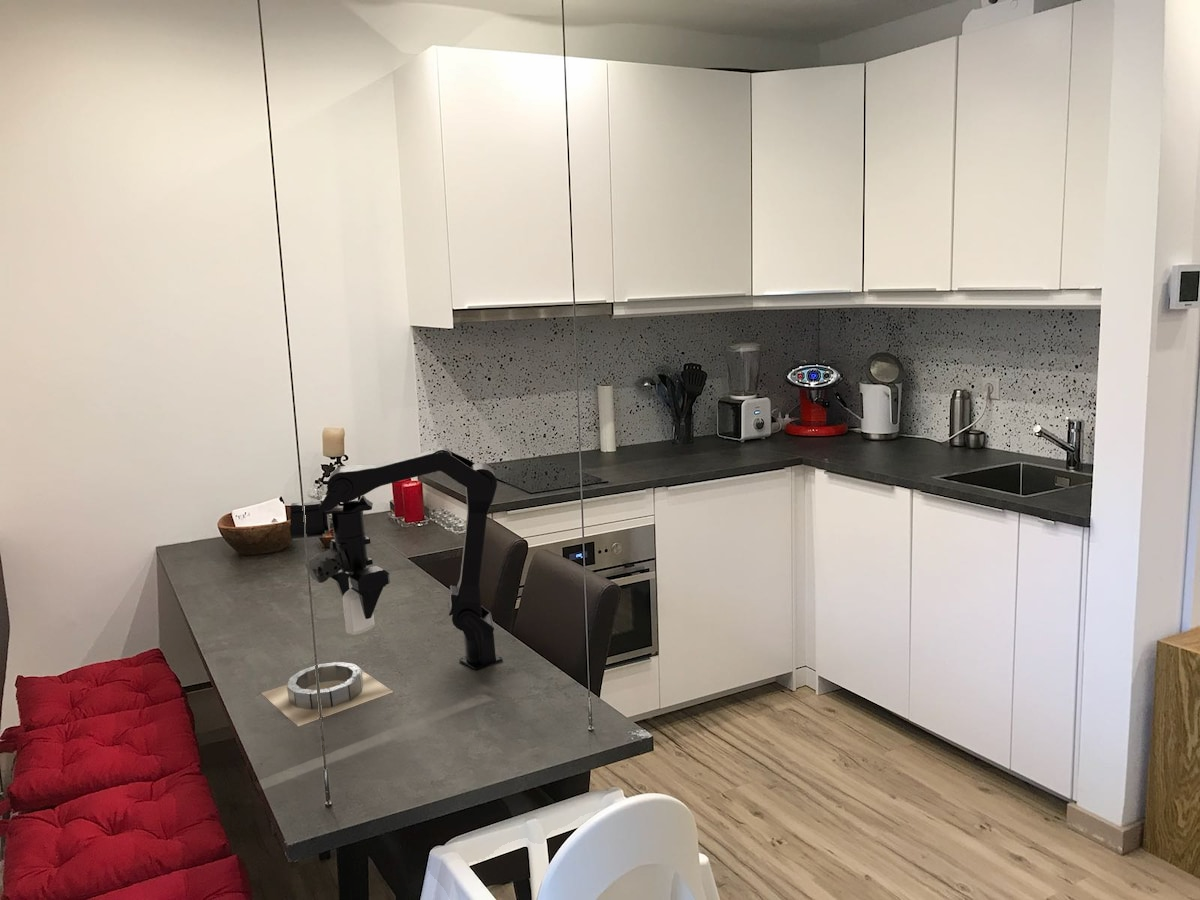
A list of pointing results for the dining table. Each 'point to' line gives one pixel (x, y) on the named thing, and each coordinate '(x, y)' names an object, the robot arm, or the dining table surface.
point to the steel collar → (330, 695)
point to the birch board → (304, 716)
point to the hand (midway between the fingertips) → (358, 612)
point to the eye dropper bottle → (355, 613)
